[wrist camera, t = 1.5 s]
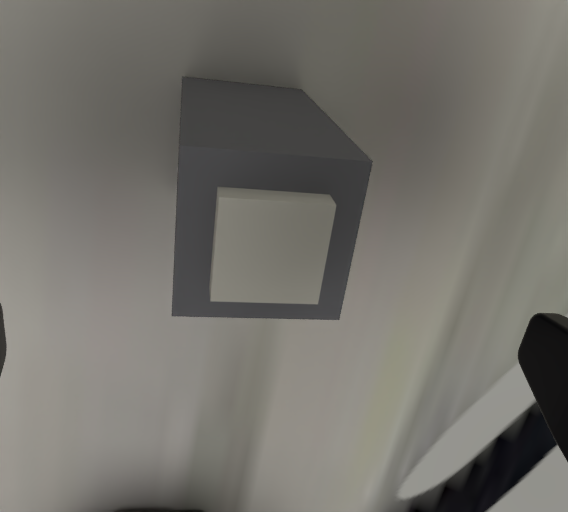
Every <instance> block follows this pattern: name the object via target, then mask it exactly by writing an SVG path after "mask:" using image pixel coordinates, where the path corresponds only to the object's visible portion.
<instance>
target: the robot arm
mask: <svg viewBox="0 0 568 512" xmlns="http://www.w3.org/2000/svg"><path fill="white" fill-rule="evenodd" d="M5 357H6V337H5V328H4V319H3V311H2V306H1V303H0V376H1V372H2V369H3V365H4V362H5ZM518 360H519V364H520V366H521V368H522V370H523V373H524V375H525V377H526V379H527V381H528V383H529V386H530V388H531V390H532V392H533V394H534V397H535V399H536V401H537V403H538V405H539V408H540V410H541V412H542V414H543V416H544V418H545V421H546V423H547V425H548V427H549V429H550V431H551V433H552V435H553V437H554V439H555V441H556V442H557V444H558V446H559V448H560V449H561V451H562V453H563V455H564V456H565V458H566V460H567V462H568V318H567V317H565V316H562V315H560V314H555V313H537V314H535V315H534V316H533V317H532V318H531V320H530V322H529V324H528V327H527V329H526V332H525V334H524V337H523V339H522V342H521V344H520V347H519V350H518Z"/></svg>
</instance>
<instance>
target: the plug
mask: <svg viewBox="0 0 568 512" xmlns="http://www.w3.org/2000/svg"><path fill="white" fill-rule="evenodd" d="M371 167H372V161H371V160H370V159H369V157H368V156H367V155H366V154H365V153H364V152H363V151H362V150H361V149H360V148H359V147H358V146H357V145H356V144H355V143H354V142H353V141H352V140H351V139H350V138H349V137H348V136H347V135H346V134H345V133H344V132H343V131H342V130H341V129H340V128H339V127H338V126H337V125H336V124H335V123H334V122H333V121H332V120H331V119H330V118H329V117H328V116H327V115H326V114H325V113H324V112H323V111H322V110H321V109H320V108H319V107H318V106H317V104H316V103H315V102H314V101H313V100H312V99H311V98H310V97H309V96H308V95H307V94H306V93H305V92H304V91H303V90H301V89H291V88H282V87H273V86H264V85H255V84H246V83H237V82H228V81H219V80H210V79H200V78H191V77H182V97H181V118H180V139H179V161H178V182H177V204H176V228H175V251H174V275H173V298H172V316H188V317H232V318H276V319H320V320H339V318H340V314H341V309H342V304H343V299H344V295H345V290H346V285H347V280H348V276H349V271H350V266H351V262H352V257H353V252H354V247H355V243H356V238H357V233H358V228H359V224H360V219H361V214H362V209H363V205H364V200H365V195H366V190H367V186H368V181H369V176H370V172H371Z"/></svg>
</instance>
